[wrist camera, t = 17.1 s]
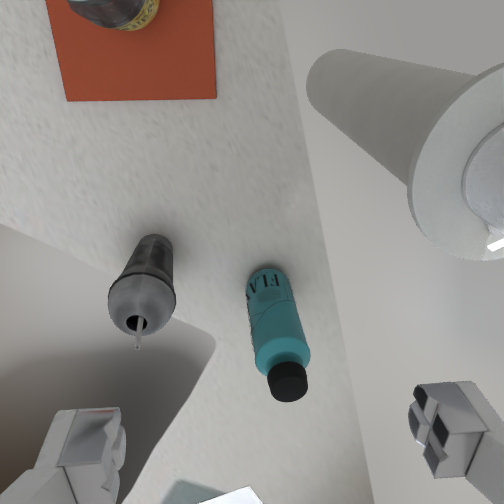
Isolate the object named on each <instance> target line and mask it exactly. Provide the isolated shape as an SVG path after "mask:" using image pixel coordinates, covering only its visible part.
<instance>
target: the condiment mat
mask: <svg viewBox="0 0 504 504" xmlns="http://www.w3.org/2000/svg"><path fill="white" fill-rule="evenodd" d="M45 1H46V5H47V10H48V15H49V19H50V24H51V29H52V34H53V38H54V43H55V48H56V52H57V57H58V62H59V66H60V71H61V76H62V80H63V85H64V90H65V94H66V99H67V101H122V100H178V99H216V78H215V55H214V32H213V9H212V0H160V2H159V7H158V10H157V13H156V15H155V17H154V18H153V20H152V21H151V22H150V23H149V24H148V25H146V26H145V27H143V28H141V29H138V30H134V31H125V30H116V29H108V28H104V27H100V26H97V25H95V24H93V23H92V22H90V21H89V20H87V19H85V18H84V17H82V16H80V15H78V14H77V13H75V12H74V11H72V10H71V8H70V7H69V3H68V2H67V1H66V0H45Z"/></svg>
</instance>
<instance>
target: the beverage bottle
mask: <svg viewBox="0 0 504 504" xmlns="http://www.w3.org/2000/svg"><path fill="white" fill-rule="evenodd" d="M289 282H290V281H289V279H288V278H287V277H286V276H285V275H284V274H283V273H282V272H280V271H278V270H275V269H263V270H260V271H258V272H256V273H255V274H253V275H252V276H251V278H250V279H249V281H248V282H247V284H246V285H247V287H246V291H245V292H246V297H247V301H248V303H247V305H248V312H249V316H250V319H249V321H250V324H251V328H250V329H251V335H252V339H253V340H251V342H252V341H253V344H252V345H253V347H254V350H253V351H254V352H255V364H256V367H257V368H258V370H259V371H260V372H261V373H262V374H263V375H265V376H267V381H268V385H269V387H270V391H271V394H272V396H273V397H274V398H275V399H276V400H278V401H281V402H293V401H296V400H298V399H300V398H302V397H303V396H304V395H305V394H306V392H307V389H308V383H307V375H306V371H305V368H306V367H307V365H308V363H309V361H310V349H309V347H308V345H307V342H306V338H305V335H304V332H303V329H302V325H301V322H300V319H299V315H298V312H297V308H296V304H295V303H296V302H295V301H296V300H294V297H293V294H294V293H292V291H293V290H291V287H292V286H290V283H289Z"/></svg>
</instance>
